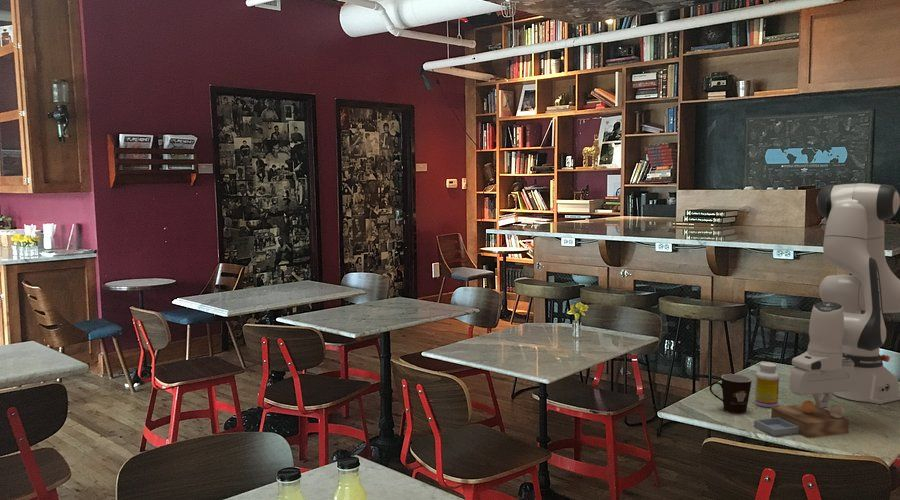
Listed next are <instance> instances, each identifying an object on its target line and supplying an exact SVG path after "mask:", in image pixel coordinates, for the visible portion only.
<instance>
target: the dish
mask: <svg viewBox="0 0 900 500" xmlns="http://www.w3.org/2000/svg"><path fill="white" fill-rule="evenodd" d="M753 427H754V428H756V429H758V430H759V431H762V432H763V433H766V434H768V435H770V436H771V437H774V438H775V437H785V436H784V435H786V436H793V434H795V435H800V434H799V427H798V426H796V425H794V424H792V423H790V422H787V421H785V420H783V419H781V418H779V417H778V418H771V417H770V418H769V417H768V418H761V419H754V420H753ZM790 434H792V435H790Z"/></svg>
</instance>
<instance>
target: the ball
mask: <svg viewBox="0 0 900 500" xmlns="http://www.w3.org/2000/svg"><path fill="white" fill-rule="evenodd" d="M801 404H802V405H801ZM801 404H800V405H801V408H802V410H803V411H804V412H805V413H808V414H810V413H813V412H814V411H815V402H813V401H811V400H804V401H803V402H802V403H801Z"/></svg>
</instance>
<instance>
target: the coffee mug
mask: <svg viewBox="0 0 900 500" xmlns="http://www.w3.org/2000/svg"><path fill="white" fill-rule="evenodd" d="M720 378H721V382H719V381H713V382H712V383H710V385H709V391H710V393H711V394H712V395H713V396H714V397H715V398H717V399H719V400H720V401H721V402H722V403H723V406H722V407H723V410H724V411H725V412H726V413H731V414H737V415H739V414H745V413H747V409H748V404H749V397H750V392H751V387H752V381H753V379H752V378H751V377H750V376H747V375H743V374H738V373H737V374H736V373H729V374H728V373H727V374H722V375H721V377H720ZM714 385H719V386H720V387H721V390H722V397H720V396H718V395H717V394H715V393H714V392H713V389H712V388H713V386H714Z"/></svg>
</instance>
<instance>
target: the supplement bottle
mask: <svg viewBox="0 0 900 500" xmlns="http://www.w3.org/2000/svg"><path fill="white" fill-rule="evenodd" d="M759 369H760V370H758V371H756V373H755V385H754V404H755V405H757V406H760V407H763V408H772V407H778V404H779V403H778V402H779V387H780V385H779V384H780V375H779V374H778V373H777V372H776V370H777V365H776V364H775V363H772V362H765V361H764V362H760V363H759Z"/></svg>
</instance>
